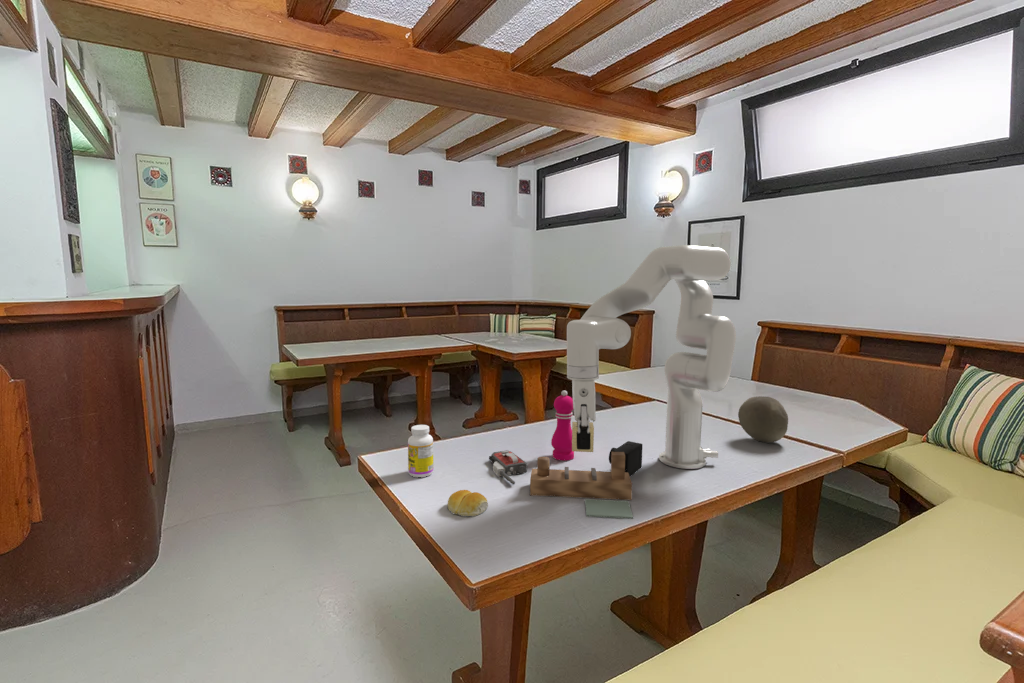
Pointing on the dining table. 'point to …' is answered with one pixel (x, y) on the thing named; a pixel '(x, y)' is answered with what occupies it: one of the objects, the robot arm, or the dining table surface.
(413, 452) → the supplement bottle
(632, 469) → the digital camera
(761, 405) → the cantaloupe
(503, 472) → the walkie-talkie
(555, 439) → the pepper mill
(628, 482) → the plane body
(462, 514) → the bread roll
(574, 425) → the lever cap
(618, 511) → the felt pad
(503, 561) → the dining table surface
